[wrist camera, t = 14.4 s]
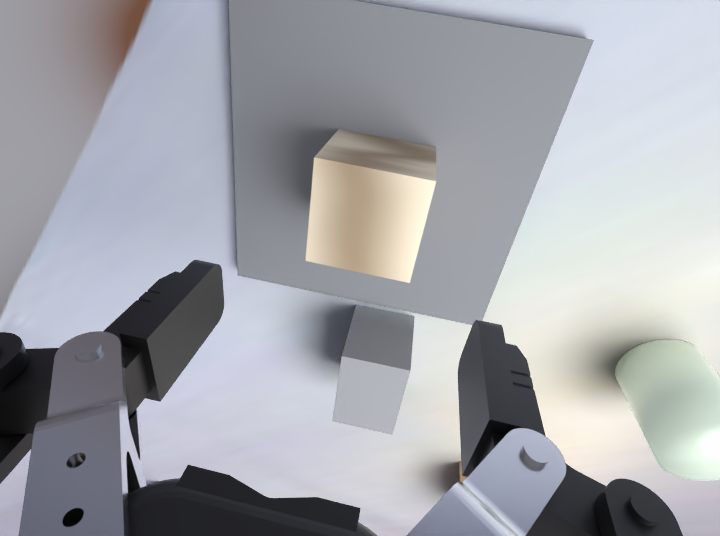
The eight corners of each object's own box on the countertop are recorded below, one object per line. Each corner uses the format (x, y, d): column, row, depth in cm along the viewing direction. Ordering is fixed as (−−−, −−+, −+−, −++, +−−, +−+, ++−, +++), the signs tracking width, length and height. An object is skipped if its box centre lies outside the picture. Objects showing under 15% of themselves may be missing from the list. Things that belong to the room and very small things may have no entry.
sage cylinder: (722, 349, 25) (795, 434, 20) (675, 402, 27) (729, 489, 22) (638, 331, 25) (690, 411, 20) (601, 385, 28) (637, 468, 23)
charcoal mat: (587, 39, 18) (593, 39, 17) (478, 318, 26) (479, 326, 26) (235, -20, 18) (227, -21, 18) (242, 269, 27) (237, 275, 27)
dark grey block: (414, 316, 27) (410, 370, 23) (398, 376, 30) (392, 434, 26) (356, 304, 27) (341, 356, 23) (346, 365, 31) (332, 420, 26)
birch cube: (436, 147, 20) (436, 181, 16) (414, 234, 23) (409, 283, 19) (339, 128, 20) (314, 157, 16) (329, 216, 23) (305, 261, 19)
